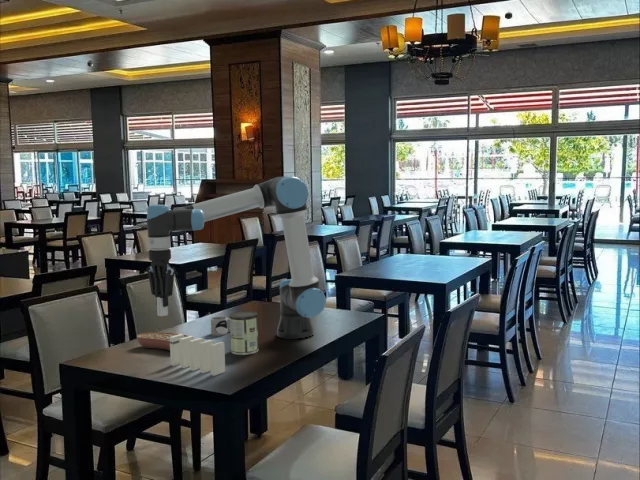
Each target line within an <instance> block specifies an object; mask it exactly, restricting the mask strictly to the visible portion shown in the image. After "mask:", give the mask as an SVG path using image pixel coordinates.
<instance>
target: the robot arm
mask: <svg viewBox="0 0 640 480" xmlns="http://www.w3.org/2000/svg"><path fill="white" fill-rule="evenodd" d="M308 198H309V189H308V186H307V184H306V183H305V181H304V180H302V179H301V178H299V177H296V176H293V175H286V176H277V177H274V178H272V179H268V180H266V181H264V182H263V181H262V182H260V183H258V184H255V185H254V186H253V187H252V188H249V189H245V190H242V191H238V192H233V193H230V194H226V195H223V196H219V197H215V198H212V199H207V200H203V201H201V202H197V203H194V204H191V205H185V206H183V207H180V206H179V207H176V208H174V209H170V206H169V205H168V204H151V205H148V206H147V208H146V226H147V237H148V238H147V239H148V240H147V242H148V249H149V250H148V260H149V261H151V263H150V266H148V267H146V268H145V269H146V273H147V275H148V281H149V288H150V291H151V295H153V296H154V297H155V301H156V304H155V305H156V310H157V313H156V314H157V316H158V317H164V316H168V315H169V297H171V296H173V289H174V278H175V273H176V269H175V268H171V267H172V266H171V264H170V260H171V259H172V250H171V246H172V245H171V242H172V241H171V232H181V231H182V232H183V231H184V232H186V231H194V232H195V231H201V230H203V229H204V226H205V223H206V222H208V221H213V220H216V219H220V218H223V217H226V216H230V215H234V214H238V213H242V212H245V211H249V210H253V209H255V208H260V209H266V208H271V207H275V211H276V215H277V216H278V217H279V218H281V223H282V229H283V235H284V240H285V246H286V252H287V253H286V254H287V258H288V264H289V271H290V277H291V278H290V279H282V280H281V281H280V283H279V288H278V289H279V307H280V318H279V322H278V326H277V329H276V336H277V337H278V338H280V339H286V340H299V339H298V338H302V339H306V338H305V337H308V338H310V337H309V336H311V337H313V336H314V335H315V328H314V326H313V323H312V320H311V318H315V317H317V316H319V315H320V314H321V313H322V312H323V311H324V310H325V308H326V305H327V304H326V303H327V298H326V296H325V294H324V292H323V290H321V287H320V281H319V278H318V277H316V276H315V275H314V270H313V269H314V267H313V262H312V256H311V252H310V249H311V248H310V245H309V244H310V243H309V238H308V237H309V236H308V233H307V231H308V230H307V227H306V226H307V225H306V219H305V214H306V212H307V210H308V208H307V200H308ZM313 334H314V335H313ZM312 335H313V336H312Z"/></svg>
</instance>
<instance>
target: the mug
mask: <svg viewBox="0 0 640 480" xmlns="http://www.w3.org/2000/svg"><path fill="white" fill-rule="evenodd" d="M228 322H230V317H227V316H222V315H221V316H219V315H218V316H213V317H211V318H210V326H211V328H210V331H211V332H210V333H211V334H210V335H211V336H213V337H214V336H215V337H216V336H217V337H222V336H227V335H228V332H230V326H229V327H228Z"/></svg>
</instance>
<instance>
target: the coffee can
mask: <svg viewBox="0 0 640 480" xmlns="http://www.w3.org/2000/svg"><path fill="white" fill-rule="evenodd" d="M228 316H229V318H230V321H229V327H230V330H229V333H230V348H231V349H230V352H231V354H233V355H239V356H245V355H246V356H247V355H252V354H256V353H258V352H259V331H258V313H257V312H256V311H252V310H251V311H249V310H248V311H247V310H242V311H235V312H232V313H230V314H229V315H228Z"/></svg>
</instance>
